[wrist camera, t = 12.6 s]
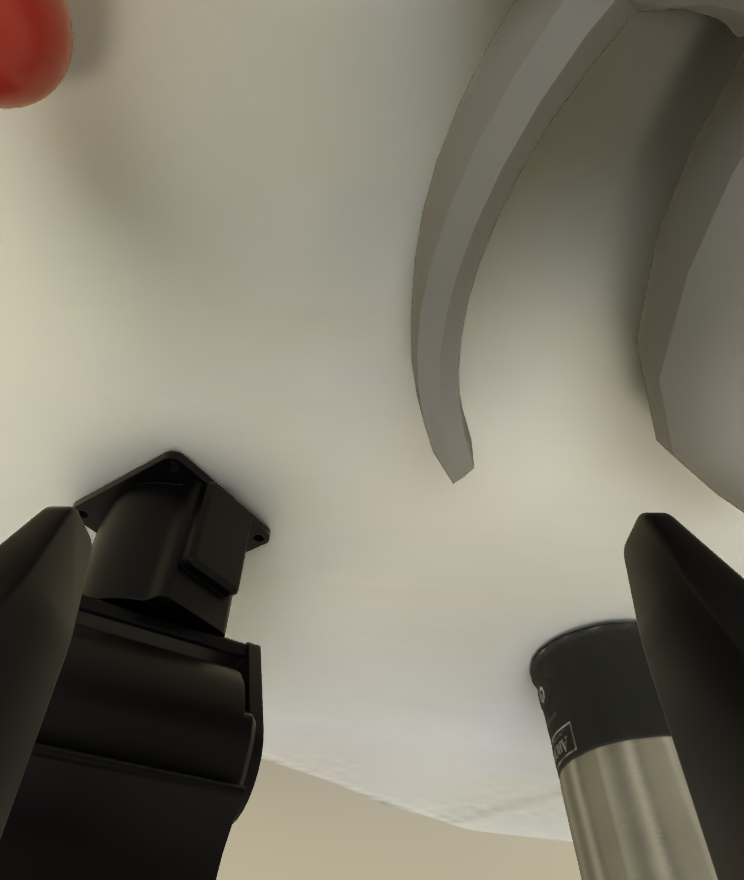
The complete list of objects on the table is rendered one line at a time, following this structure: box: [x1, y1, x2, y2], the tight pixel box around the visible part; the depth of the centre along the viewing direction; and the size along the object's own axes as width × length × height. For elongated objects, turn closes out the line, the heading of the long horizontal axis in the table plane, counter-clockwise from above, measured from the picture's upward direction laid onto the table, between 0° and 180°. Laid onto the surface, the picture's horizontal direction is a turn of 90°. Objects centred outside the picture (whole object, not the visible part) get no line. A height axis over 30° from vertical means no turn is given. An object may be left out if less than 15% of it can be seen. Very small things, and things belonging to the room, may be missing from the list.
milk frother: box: [530, 623, 718, 880], centre depth 32 cm, size 14×16×15 cm
